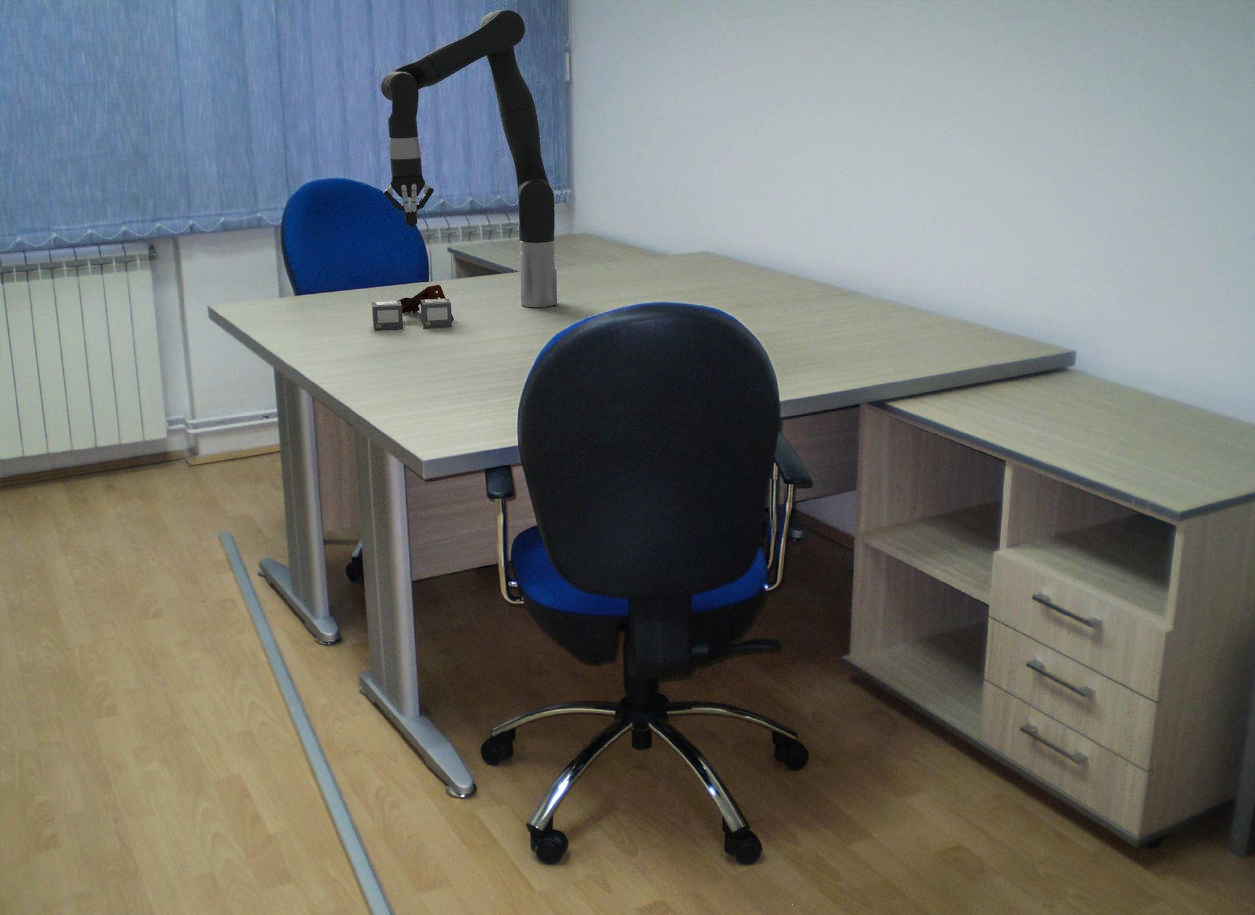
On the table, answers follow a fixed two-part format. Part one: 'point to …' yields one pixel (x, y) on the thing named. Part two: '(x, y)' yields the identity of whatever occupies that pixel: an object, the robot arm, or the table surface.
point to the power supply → (387, 315)
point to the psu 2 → (436, 313)
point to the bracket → (421, 298)
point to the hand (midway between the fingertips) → (411, 226)
